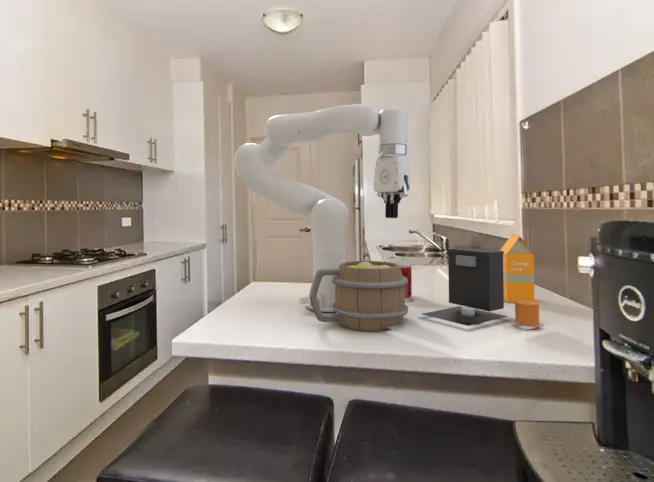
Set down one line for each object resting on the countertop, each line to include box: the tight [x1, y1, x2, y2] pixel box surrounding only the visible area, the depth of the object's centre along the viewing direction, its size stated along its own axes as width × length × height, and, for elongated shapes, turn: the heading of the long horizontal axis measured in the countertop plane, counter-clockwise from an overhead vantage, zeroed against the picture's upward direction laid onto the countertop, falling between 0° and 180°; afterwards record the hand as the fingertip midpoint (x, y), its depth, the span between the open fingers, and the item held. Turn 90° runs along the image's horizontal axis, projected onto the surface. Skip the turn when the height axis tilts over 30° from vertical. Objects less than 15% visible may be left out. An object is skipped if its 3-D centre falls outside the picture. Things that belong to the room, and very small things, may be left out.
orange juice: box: [499, 233, 536, 304], centre depth 139 cm, size 8×9×20 cm
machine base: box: [422, 305, 508, 327], centre depth 116 cm, size 16×14×3 cm
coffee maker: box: [447, 247, 505, 312], centre depth 119 cm, size 8×12×15 cm, turn 32°
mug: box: [308, 260, 409, 332], centre depth 113 cm, size 19×25×15 cm
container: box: [514, 300, 540, 331], centre depth 108 cm, size 5×5×6 cm
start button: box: [461, 306, 476, 316], centre depth 110 cm, size 3×3×2 cm
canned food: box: [395, 262, 413, 299], centre depth 142 cm, size 8×8×11 cm
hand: (391, 217), depth 126 cm, fingers closed
